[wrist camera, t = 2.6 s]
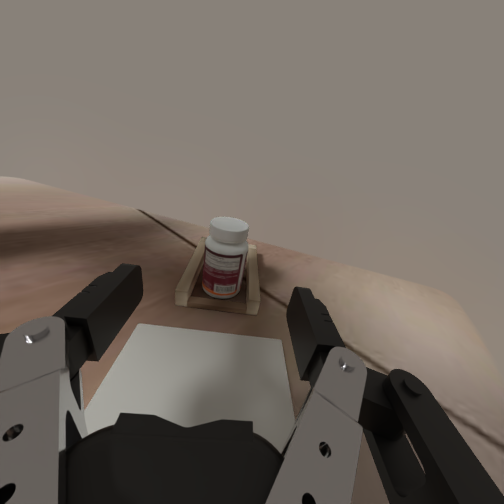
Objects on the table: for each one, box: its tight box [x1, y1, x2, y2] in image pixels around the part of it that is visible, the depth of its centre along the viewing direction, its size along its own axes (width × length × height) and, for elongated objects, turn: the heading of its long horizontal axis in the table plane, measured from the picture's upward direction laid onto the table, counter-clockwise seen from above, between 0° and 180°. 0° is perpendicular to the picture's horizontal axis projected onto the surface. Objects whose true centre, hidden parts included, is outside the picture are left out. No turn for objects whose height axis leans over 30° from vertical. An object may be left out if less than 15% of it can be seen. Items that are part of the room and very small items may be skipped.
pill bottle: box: [202, 217, 249, 299], centre depth 23 cm, size 5×5×8 cm
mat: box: [84, 323, 295, 453], centre depth 14 cm, size 13×10×1 cm
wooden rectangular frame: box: [175, 237, 260, 315], centre depth 26 cm, size 9×13×2 cm, turn 1°
